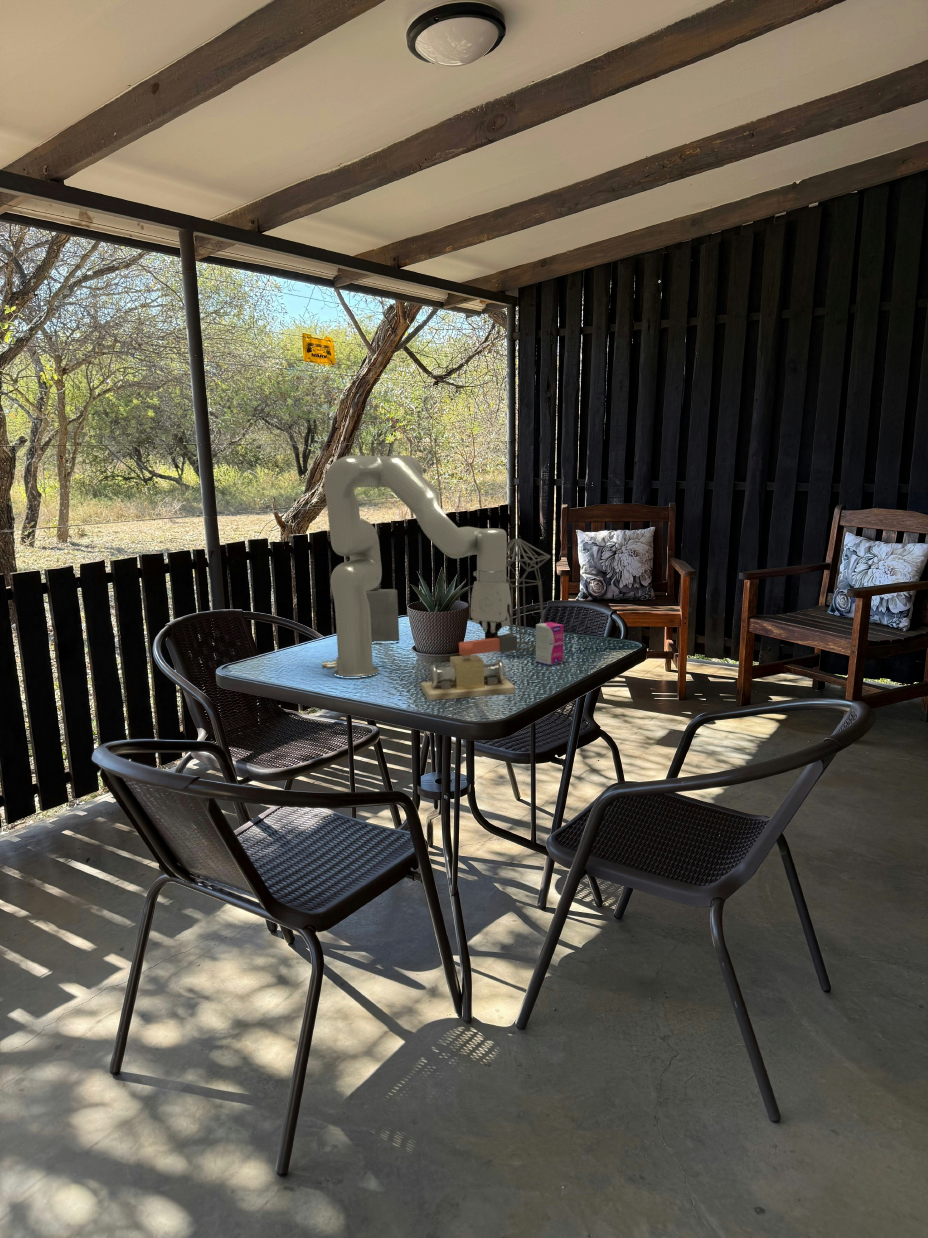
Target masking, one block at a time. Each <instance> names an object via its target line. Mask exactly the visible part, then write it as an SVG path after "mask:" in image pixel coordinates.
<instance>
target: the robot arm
mask: <svg viewBox="0 0 928 1238" xmlns="http://www.w3.org/2000/svg"><path fill="white" fill-rule="evenodd" d="M423 473H424V469H423V467H422V465H421V463H420V461H419V460H418V459H416V458H415V457H414V456H411V455H399V454H396V455H390V456H388V455H383V456H382V455H358V454H356V455H355V454H352V455H346V456H342V457H340V458H338V459H336V460H335V461H334V462H333V463H331V465H330V466H329V468H328V469H327V471H326V473H325V476H324V481H323V482H324V483H323V485H324V495H325V500H326V506H327V509H326V510H327V520H328V526H329V537H330V544H331V547H332V550H333V551H334V553H335V554H336V555H338V556H341V557H349V560H348V561H344V562H341V563H340V564H338V565H337V566H335V568H334V569H333V571H332V572H331V575H330V588H331V592H332V596H333V597H332V598H333V602H334V611H335V613H334V614H335V627H336V644H337V657H336V659H333V661H327V660H326V661H322V662H321V669H326V670H332V669H333V671H332V672H333V673H334V674H336V675H339V676H343V677H362V676H369V675H373V674H376V673H378V674H379V671H380V669H379V667H378V666H375V665H374V662H373V644H372V638H371V618H370V607H369V602H368V599H367V596H366V592H368V591H370V590H373V589H374V588H376V587H377V586H378V585H379V586H380V583H381V581H382V578H383V577H382V576H383V575H382V574H383V572H382V571H383V569H382V568H383V566H382V561H381V560H382V559H381V551H380V549H381V548H380V540H379V535H378V532H377V530H376V529H375V527H374V526H373V524H372V523H370V522H369V521H367V520H364V519H361V515H360V506H359V501H358V499H357V496H356V493H355V490H356V489H357V488H388V489H390V490H391V492H393V495H395V496H396V497H397V498H398V499H399V500H400V501H401V502H402V503H403V504H404V506H406V507H407V508H408V509H409V511H411V513H412V514H413V515H414V516H415V518H416V521H417V522H418V524H419V526H420V528H421V530H422V531H423V533H424V534H425V536H426V537H427V538H428V539H429V541H431V543H432V544H434V545H435V547H437V548H438V549H439V550H440V551H441V553H442V554H444V555H446V556H447V557H449V558H451V559H460V558H465V557H470V556H472V555H477V556H476V570H475V571H473V573H472V574H473V576H474V577H476V581H474V583H473V586H472V591H471V597H470V598H471V600H470V617H471V619H472V623H475V624H477V625H479V626H480V627H481V629H482V632H484V639H489V638H495V636H499V634H498V633H499V632H500V630H501V629H502V628H504V627H508V626H511V588H510V587H509V585H510V584H509V582H508V581H507V582H506V580H507V579H506V576H507V567H506V564H507V562H506V560H507V557H506V555H508V553H507V543H508V541H507V540H508V539H507V537H508V536H507V532H506V530H504V529H503V528H495V527H494V528H493V527H492V528H491V527H489V528H478V527H474V526H461V527H458V526H457V525H456V524H455V523H454V522H453V521H452V520H451V519H450V518H449V517H448V516H447V515H446V513H445V512H444V510H443V509H442V506H441V504H440V493H439V491H438V490H437V489H436V488H435V487H434V486H433V485H432V484H431V483H430V482H429V481H428V480H427V479H426V478H425V477H424V475H423ZM334 674H333V675H334ZM376 675H377V674H376Z"/></svg>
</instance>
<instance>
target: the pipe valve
mask: <svg viewBox="0 0 928 1238" xmlns="http://www.w3.org/2000/svg"><path fill="white" fill-rule="evenodd" d="M449 661H450V662H449V666H445V667H437V665H436V664H431V665H430V668H429V678H430V682H431V685H432V687H437V686H439V687H440V689H441V690H444V689H451V685H450V683H452V684H453V686H454V687H455V688H456V689H457V690H460V689H472V688H484V682H485V683H486V684H487V685H488V686H492V685H497V681H498V682H503V680H504V677H505V668H504V663H503V661H502V659H496V660H495V662H493V663H484V660H483V659H482V658H481V657H480V656H479V654H472V655H470V658H467V659H465V658H463V656H462V655H455V656H454V655H453V656H450V657H449Z"/></svg>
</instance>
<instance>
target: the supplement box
mask: <svg viewBox="0 0 928 1238" xmlns="http://www.w3.org/2000/svg"><path fill="white" fill-rule="evenodd" d="M535 635H536V637H535V640H536V642H535V644H536V653H535V664H539V665H542V664H543V666H547V667H550V665H551V666H554V665H553V664H555V665H558V664H557V663H561V662H563V663H564V624H560V623H557V622H552V621H551V622H550V621H548V622H544V623H541V622H540V623H537V624H535ZM561 664H562V663H561Z"/></svg>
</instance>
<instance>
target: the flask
mask: <svg viewBox="0 0 928 1238" xmlns="http://www.w3.org/2000/svg"><path fill="white" fill-rule="evenodd" d="M366 596H367V599H368V602H369V607H370V618H371V638H372V642H374V641H398V640H399V641H400V630H399V629H400V628H399V627H400V626H399V625H400V624H399V623H400V622H399V604H398V603H399V602H398V601H399V600H398V590H397V589H394V588H389V589H388V588H386V589H385V588H383V589H382V588H381V589H380V584H379V585H378V586H377V587H376V588H374V589H373V590H370V591H368V592H366Z"/></svg>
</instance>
